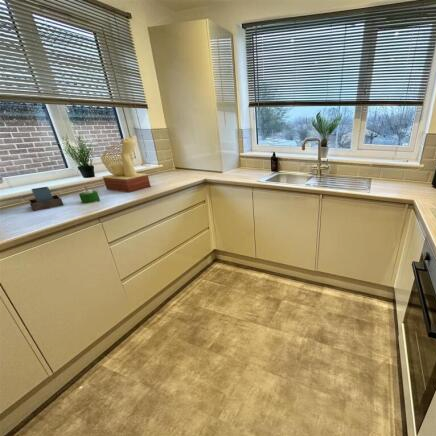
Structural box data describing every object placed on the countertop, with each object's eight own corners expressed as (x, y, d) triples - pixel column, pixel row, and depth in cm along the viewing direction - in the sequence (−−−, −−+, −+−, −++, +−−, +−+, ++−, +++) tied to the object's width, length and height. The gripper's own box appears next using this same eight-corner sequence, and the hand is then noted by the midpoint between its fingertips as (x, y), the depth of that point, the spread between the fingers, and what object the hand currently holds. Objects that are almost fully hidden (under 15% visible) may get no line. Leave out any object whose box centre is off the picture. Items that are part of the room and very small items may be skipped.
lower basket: (33, 212, 125) (29, 204, 123) (31, 207, 132) (27, 199, 131) (64, 206, 134) (61, 198, 132) (60, 202, 141) (57, 194, 139)
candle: (82, 201, 141) (76, 185, 137) (99, 198, 145) (94, 182, 142) (81, 205, 135) (75, 187, 131) (100, 202, 139) (94, 185, 135)
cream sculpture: (152, 186, 171) (139, 135, 158) (128, 193, 156) (112, 136, 143) (129, 184, 180) (115, 135, 167) (104, 190, 165) (86, 136, 152)
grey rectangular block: (40, 208, 129) (32, 190, 125) (38, 206, 133) (31, 188, 129) (56, 205, 133) (48, 188, 129) (54, 203, 137) (47, 186, 133)
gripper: (-37, 160, 103) (7, 178, 113) (-35, 157, 115) (5, 173, 126) (-48, 172, 101) (-2, 189, 112) (-44, 168, 114) (-3, 183, 124)
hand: (2, 181), depth 119 cm, fingers open, 8 cm apart
